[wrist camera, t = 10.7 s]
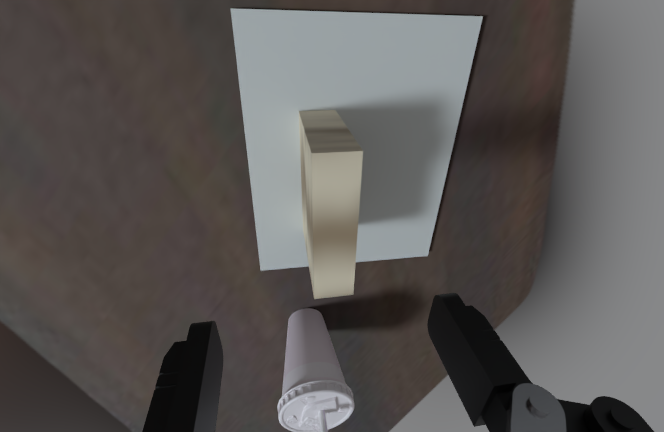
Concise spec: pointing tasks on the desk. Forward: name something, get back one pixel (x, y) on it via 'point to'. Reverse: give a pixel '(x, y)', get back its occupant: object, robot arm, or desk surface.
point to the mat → (353, 118)
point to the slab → (330, 200)
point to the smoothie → (312, 377)
